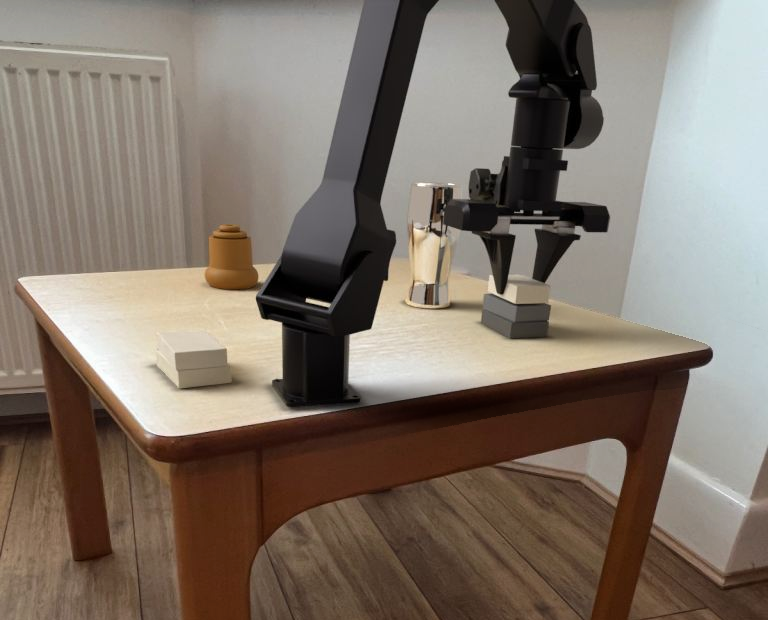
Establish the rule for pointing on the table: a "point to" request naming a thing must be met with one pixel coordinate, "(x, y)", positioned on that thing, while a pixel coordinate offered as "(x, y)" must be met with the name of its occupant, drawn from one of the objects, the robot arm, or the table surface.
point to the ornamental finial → (230, 259)
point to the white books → (192, 358)
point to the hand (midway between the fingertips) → (517, 293)
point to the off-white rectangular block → (522, 290)
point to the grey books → (515, 317)
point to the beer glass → (430, 244)
